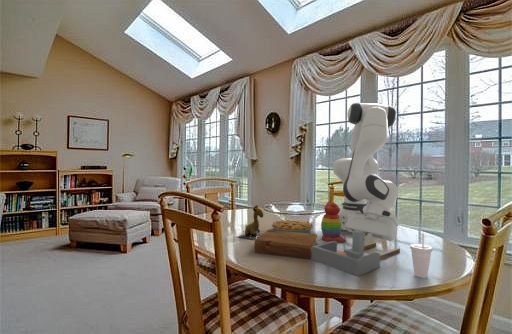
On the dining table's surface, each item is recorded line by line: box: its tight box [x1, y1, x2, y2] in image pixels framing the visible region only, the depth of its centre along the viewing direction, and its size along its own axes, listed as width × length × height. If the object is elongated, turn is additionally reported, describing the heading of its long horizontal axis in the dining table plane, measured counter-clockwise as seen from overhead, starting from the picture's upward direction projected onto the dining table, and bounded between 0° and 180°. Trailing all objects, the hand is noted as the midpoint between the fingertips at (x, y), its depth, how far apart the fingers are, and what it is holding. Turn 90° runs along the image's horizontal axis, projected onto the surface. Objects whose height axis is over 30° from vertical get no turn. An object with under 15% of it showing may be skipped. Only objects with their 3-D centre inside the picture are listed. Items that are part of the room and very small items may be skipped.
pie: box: [271, 219, 314, 234], centre depth 153 cm, size 22×22×5 cm
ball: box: [336, 250, 347, 256], centre depth 104 cm, size 5×5×5 cm
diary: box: [253, 229, 318, 260], centre depth 122 cm, size 23×19×6 cm
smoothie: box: [409, 232, 433, 279], centre depth 94 cm, size 6×6×14 cm
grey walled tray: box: [311, 241, 381, 277], centre depth 105 cm, size 20×13×5 cm, turn 36°
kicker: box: [343, 230, 370, 259], centre depth 110 cm, size 8×9×10 cm
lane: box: [342, 241, 401, 261], centre depth 116 cm, size 12×22×2 cm, turn 126°
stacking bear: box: [320, 201, 346, 243], centre depth 137 cm, size 11×10×18 cm
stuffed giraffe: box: [240, 204, 265, 241], centre depth 146 cm, size 16×18×16 cm
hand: (361, 243), depth 111 cm, fingers closed, pressing on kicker
